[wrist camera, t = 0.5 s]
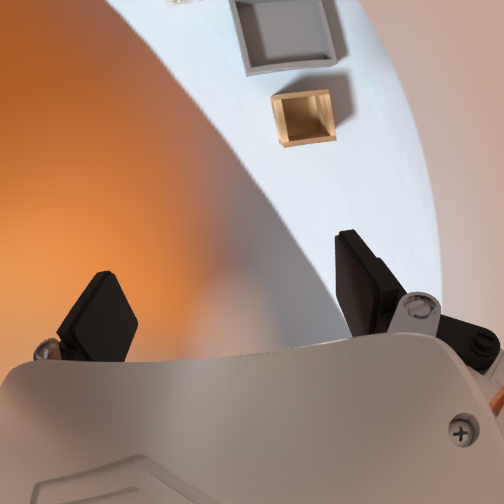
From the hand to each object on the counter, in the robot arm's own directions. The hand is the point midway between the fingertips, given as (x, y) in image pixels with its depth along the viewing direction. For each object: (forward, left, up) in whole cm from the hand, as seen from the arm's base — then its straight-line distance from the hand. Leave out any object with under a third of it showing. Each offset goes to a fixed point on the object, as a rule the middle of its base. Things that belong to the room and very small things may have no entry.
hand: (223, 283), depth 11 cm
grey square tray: (-16, +9, -26) cm, 32 cm away
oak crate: (-4, +9, -26) cm, 28 cm away
